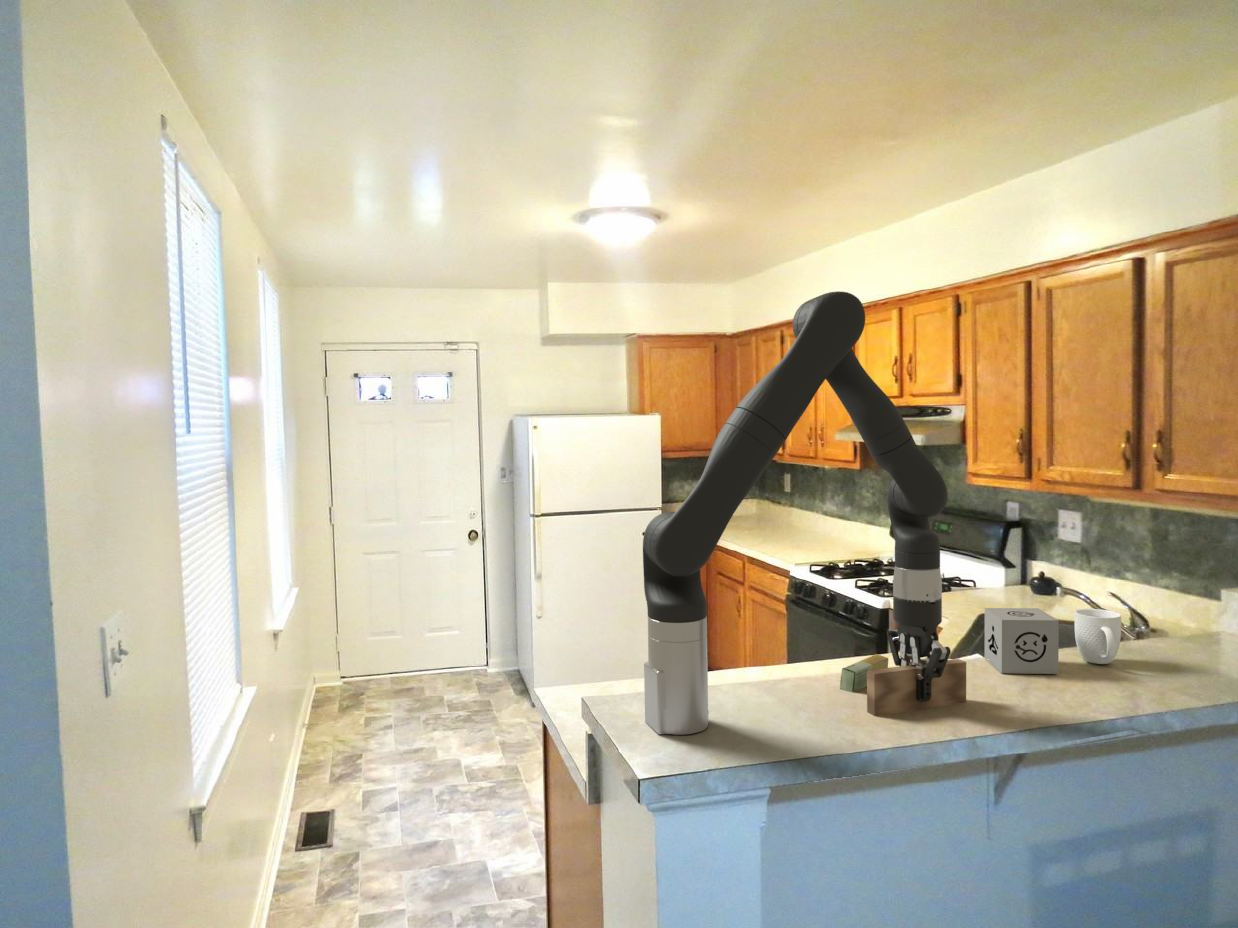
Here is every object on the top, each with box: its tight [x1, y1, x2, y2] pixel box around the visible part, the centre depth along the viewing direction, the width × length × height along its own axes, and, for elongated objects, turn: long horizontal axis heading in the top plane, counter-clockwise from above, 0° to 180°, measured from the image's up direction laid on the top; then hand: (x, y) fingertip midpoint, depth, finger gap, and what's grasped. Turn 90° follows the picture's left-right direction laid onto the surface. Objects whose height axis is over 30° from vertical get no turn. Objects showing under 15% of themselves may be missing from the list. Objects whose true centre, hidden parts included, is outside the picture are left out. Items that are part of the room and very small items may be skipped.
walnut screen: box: [866, 658, 967, 717], centre depth 139 cm, size 18×2×7 cm, turn 109°
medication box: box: [839, 653, 889, 693], centre depth 152 cm, size 12×3×4 cm, turn 133°
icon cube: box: [984, 607, 1060, 675], centre depth 161 cm, size 10×10×10 cm
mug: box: [1073, 608, 1122, 665], centre depth 162 cm, size 11×8×9 cm
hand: (917, 697), depth 139 cm, fingers closed
